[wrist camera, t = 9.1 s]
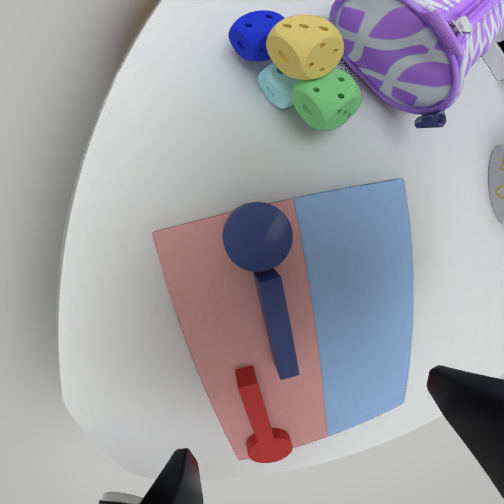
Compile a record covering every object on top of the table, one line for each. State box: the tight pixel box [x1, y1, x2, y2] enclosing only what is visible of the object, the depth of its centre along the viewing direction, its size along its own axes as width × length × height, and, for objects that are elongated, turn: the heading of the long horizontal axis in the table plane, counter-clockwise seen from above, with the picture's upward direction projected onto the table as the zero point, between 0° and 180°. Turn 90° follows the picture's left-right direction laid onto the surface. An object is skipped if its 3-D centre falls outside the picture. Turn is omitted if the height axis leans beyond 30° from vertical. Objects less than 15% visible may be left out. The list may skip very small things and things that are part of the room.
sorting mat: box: [152, 179, 413, 460], centre depth 17 cm, size 20×16×1 cm
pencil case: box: [329, 0, 504, 128], centre depth 9 cm, size 22×9×10 cm, turn 137°
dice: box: [229, 10, 362, 131], centre depth 11 cm, size 8×3×6 cm, turn 38°
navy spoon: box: [223, 202, 299, 380], centre depth 15 cm, size 10×4×2 cm, turn 13°
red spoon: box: [235, 366, 293, 463], centre depth 17 cm, size 10×4×2 cm, turn 13°
